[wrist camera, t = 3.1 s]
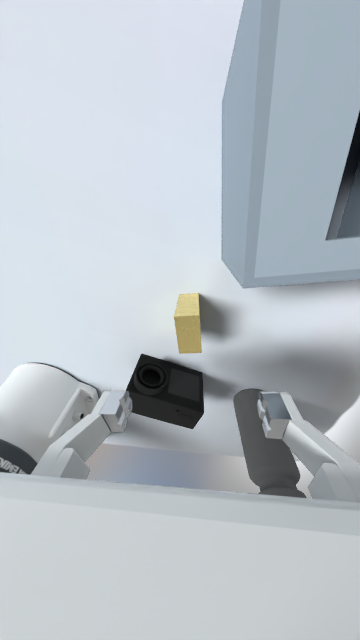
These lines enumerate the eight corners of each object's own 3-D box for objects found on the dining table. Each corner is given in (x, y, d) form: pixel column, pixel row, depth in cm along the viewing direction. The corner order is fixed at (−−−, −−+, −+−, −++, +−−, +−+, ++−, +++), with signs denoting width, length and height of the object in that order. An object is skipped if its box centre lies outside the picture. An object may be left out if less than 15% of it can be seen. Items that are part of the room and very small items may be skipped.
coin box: (340, 247, 18) (478, 269, 9) (221, 259, 19) (243, 288, 11) (396, 65, 12) (910, -344, 3) (222, 101, 14) (269, -120, 5)
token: (200, 324, 24) (201, 352, 18) (182, 325, 24) (179, 353, 19) (198, 293, 21) (199, 315, 16) (179, 294, 22) (174, 316, 16)
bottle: (275, 397, 29) (340, 537, 16) (251, 414, 32) (290, 546, 19) (248, 383, 28) (294, 521, 15) (226, 402, 31) (248, 532, 18)
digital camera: (206, 367, 27) (209, 408, 21) (193, 388, 30) (193, 430, 24) (143, 347, 26) (127, 384, 20) (136, 371, 29) (120, 410, 23)
